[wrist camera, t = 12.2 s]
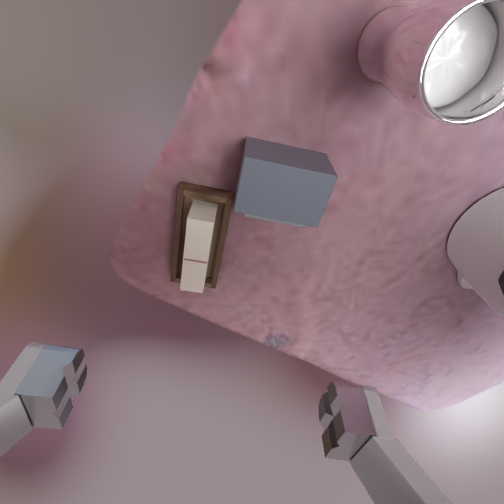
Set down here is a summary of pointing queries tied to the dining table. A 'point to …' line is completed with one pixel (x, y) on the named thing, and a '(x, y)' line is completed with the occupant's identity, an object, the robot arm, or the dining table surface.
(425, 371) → the dining table surface
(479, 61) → the beer glass
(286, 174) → the block
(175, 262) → the tray
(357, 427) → the robot arm
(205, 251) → the white slab
